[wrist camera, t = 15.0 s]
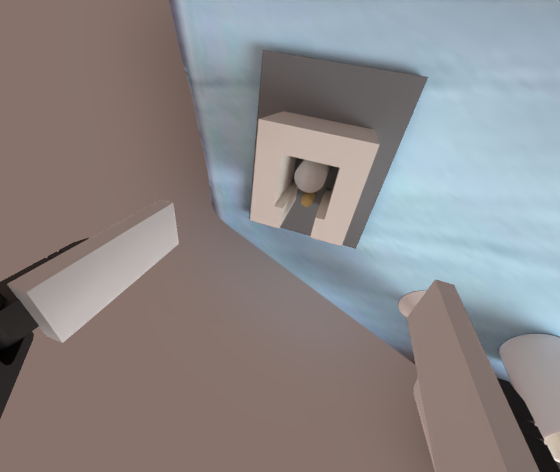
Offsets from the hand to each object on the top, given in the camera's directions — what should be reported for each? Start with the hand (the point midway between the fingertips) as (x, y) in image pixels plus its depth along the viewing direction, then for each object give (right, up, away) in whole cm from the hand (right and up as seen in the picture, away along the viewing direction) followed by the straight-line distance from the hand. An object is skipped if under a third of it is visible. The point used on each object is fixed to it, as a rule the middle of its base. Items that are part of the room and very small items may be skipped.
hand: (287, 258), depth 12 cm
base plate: (+4, +10, +17) cm, 21 cm away
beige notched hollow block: (+4, +10, +16) cm, 19 cm away
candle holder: (+38, -16, +23) cm, 47 cm away
